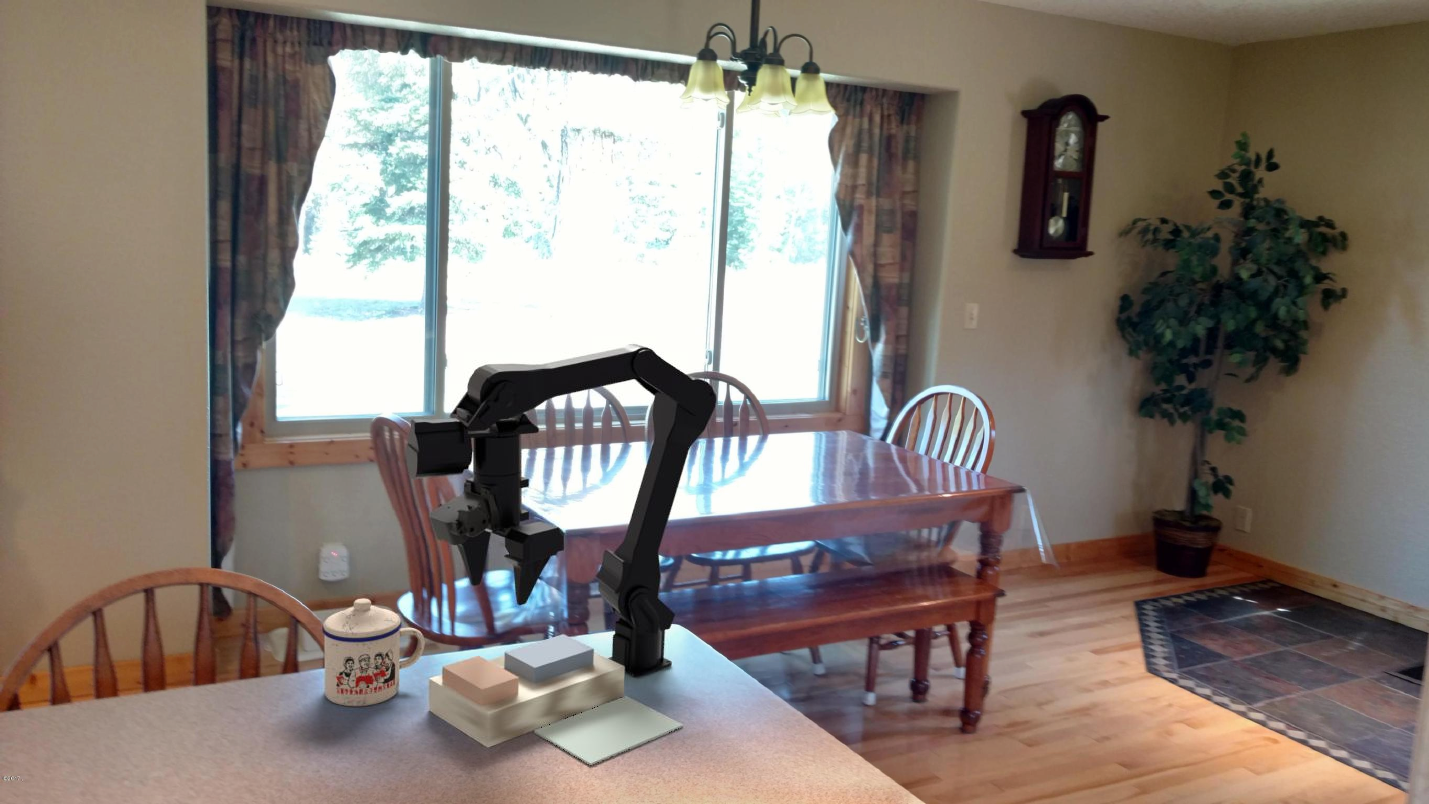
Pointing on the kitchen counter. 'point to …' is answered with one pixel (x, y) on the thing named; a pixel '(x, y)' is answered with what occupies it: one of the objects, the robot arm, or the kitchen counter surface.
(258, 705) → the kitchen counter surface
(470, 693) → the terracotta tile
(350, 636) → the teacup with lid
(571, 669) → the grey-blue rectangular block
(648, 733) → the mat
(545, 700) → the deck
